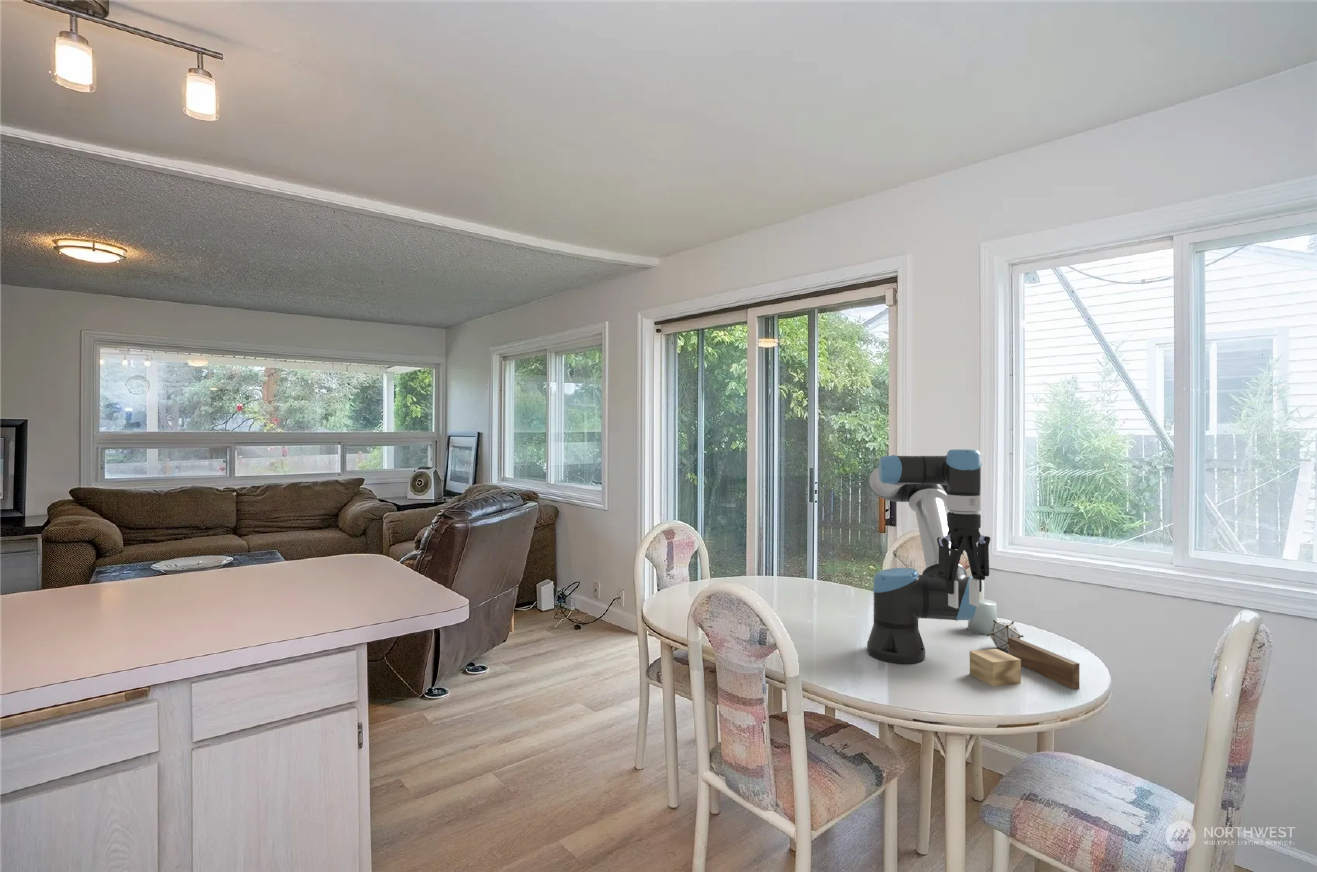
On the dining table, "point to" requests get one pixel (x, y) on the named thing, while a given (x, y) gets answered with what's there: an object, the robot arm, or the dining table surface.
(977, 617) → the sage green cylinder
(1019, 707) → the dining table surface
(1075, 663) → the board
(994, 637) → the game die
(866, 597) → the dining table surface
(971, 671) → the block
